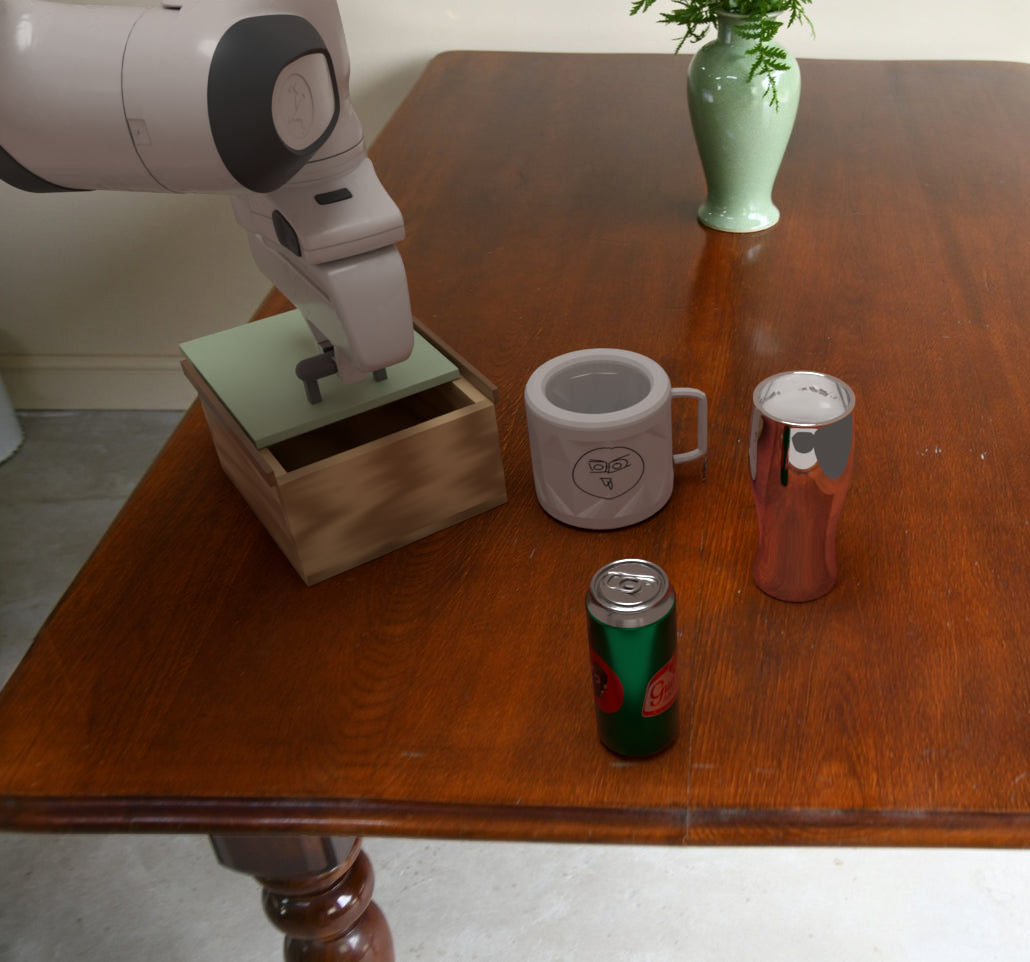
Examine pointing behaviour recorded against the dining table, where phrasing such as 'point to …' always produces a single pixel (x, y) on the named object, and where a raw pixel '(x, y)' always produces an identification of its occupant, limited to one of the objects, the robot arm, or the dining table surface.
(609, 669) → the soda can
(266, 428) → the slide lid
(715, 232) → the dining table surface
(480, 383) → the box
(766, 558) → the beer glass
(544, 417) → the mug
